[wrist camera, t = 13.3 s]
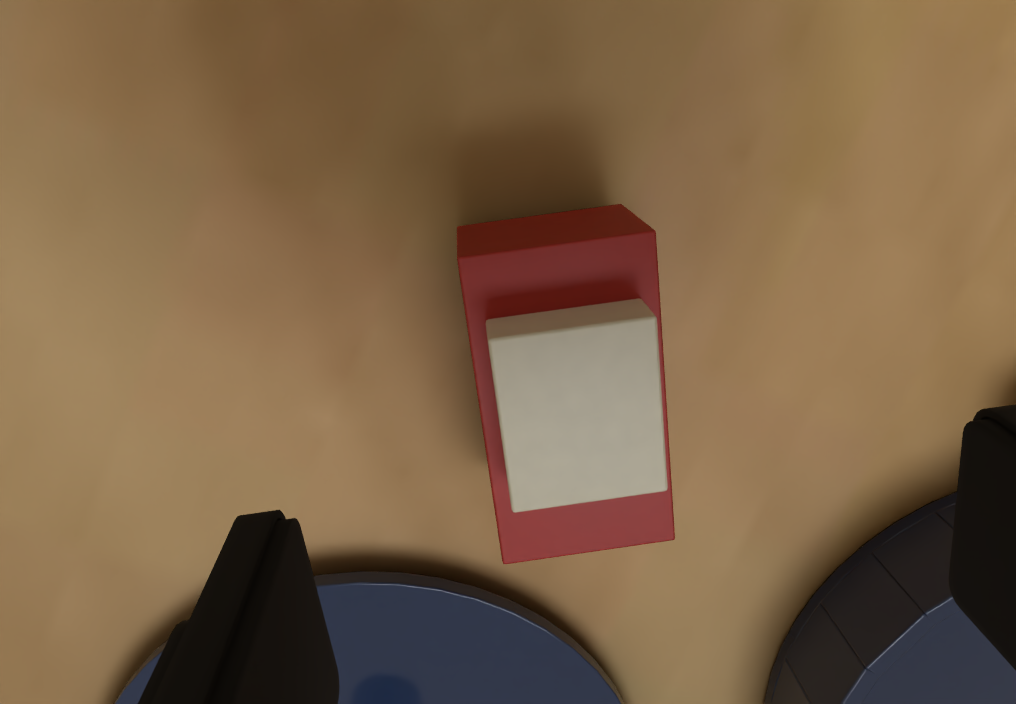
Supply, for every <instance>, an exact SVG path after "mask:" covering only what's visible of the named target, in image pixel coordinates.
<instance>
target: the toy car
mask: <svg viewBox="0 0 1016 704" xmlns="http://www.w3.org/2000/svg"><path fill="white" fill-rule="evenodd" d="M457 261H458V268H459V275H460V281H461V288H462V295H463V301H464V308H465V315H466V321H467V328H468V335H469V341H470V348H471V355H472V361H473V368H474V375H475V381H476V388H477V395H478V401H479V408H480V415H481V421H482V428H483V435H484V441H485V448H486V455H487V461H488V468H489V475H490V481H491V488H492V495H493V501H494V508H495V515H496V521H497V528H498V535H499V541H500V548H501V555H502V561H503V564H510V563H517V562H524V561H531V560H538V559H545V558H551V557H558V556H565V555H572V554H579V553H586V552H593V551H600V550H607V549H614V548H621V547H628V546H635V545H642V544H649V543H655V542H662V541H669V540H674V539H675V533H674V517H673V501H672V485H671V469H670V453H669V437H668V421H667V405H666V389H665V373H664V357H663V341H662V324H661V308H660V292H659V276H658V260H657V244H656V232H655V230H654V229H652V228H651V227H650V226H649V225H647V224H646V223H645V222H643V221H642V220H641V219H640V218H638V217H637V216H636V215H635V214H633V213H632V212H631V211H630V210H628V209H627V208H626V207H624V206H623V205H622V204H617V205H610V206H602V207H595V208H588V209H580V210H573V211H566V212H559V213H551V214H544V215H537V216H529V217H522V218H515V219H507V220H500V221H493V222H485V223H478V224H471V225H463V226H458V227H457Z"/></svg>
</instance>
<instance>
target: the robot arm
mask: <svg viewBox="0 0 1016 704" xmlns="http://www.w3.org/2000/svg"><path fill="white" fill-rule="evenodd" d="M949 587H950V591H951V594H952V597H953V599H954V601H955V603H956V604H957V605H958V607H959V608H960V609H961V610H962V611H963V612H964V614H965V615H966V616H967V617H968V618H969V619H970V620H971V621H972V622H973V624H974V625H975V626H976V627H977V628H978V629H979V630H980V631H981V633H982V634H983V635H984V636H985V637H986V638H987V639H988V640H989V641H990V643H991V644H992V645H993V646H994V647H995V648H996V649H997V650H998V651H999V653H1000V654H1001V655H1002V656H1003V657H1004V658H1005V659H1006V660H1007V662H1008V663H1009V664H1010V665H1011V666H1012V667H1013V668H1014V669H1015V670H1016V405H1009V406H1002V407H995V408H988V409H982V410H980V411H979V412H977V414H976V415H975V417H974V419H973V421H970V422H969V423H967V424H966V426H965V427H964V431H963V437H962V447H961V457H960V468H959V478H958V488H957V498H956V508H955V518H954V528H953V538H952V548H951V558H950V568H949ZM339 687H340V686H339V673H338V668H337V664H336V660H335V656H334V652H333V649H332V645H331V641H330V637H329V633H328V630H327V626H326V622H325V618H324V614H323V611H322V607H321V603H320V599H319V595H318V591H317V588H316V584H315V580H314V576H313V572H312V569H311V565H310V561H309V557H308V553H307V550H306V546H305V542H304V538H303V534H302V531H301V527H300V524H299V522H298V520H297V519H296V518H293V519H285V516H284V514H283V513H282V512H281V511H280V510H275V511H268V512H261V513H254V514H247V515H240V516H237V518H236V519H235V521H234V523H233V525H232V528H231V530H230V532H229V534H228V536H227V538H226V541H225V543H224V545H223V547H222V549H221V552H220V554H219V556H218V558H217V560H216V563H215V565H214V567H213V569H212V571H211V574H210V576H209V578H208V580H207V582H206V584H205V587H204V589H203V591H202V593H201V595H200V598H199V600H198V602H197V604H196V606H195V609H194V611H193V613H192V615H191V617H190V620H185V621H182V622H180V623H179V624H177V625H176V627H175V628H174V630H173V631H172V633H171V635H170V637H169V639H168V641H167V643H166V645H165V647H164V649H163V652H162V654H161V656H160V658H159V660H158V662H157V664H156V666H155V668H154V670H153V673H152V675H151V677H150V679H149V681H148V683H147V685H146V687H145V689H144V691H143V694H142V696H141V698H140V700H139V702H138V704H338V700H339Z"/></svg>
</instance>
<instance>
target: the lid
mask: <svg viewBox="0 0 1016 704" xmlns="http://www.w3.org/2000/svg"><path fill="white" fill-rule="evenodd" d="M314 580H315V584H316V588H317V591H318V595H319V599H320V603H321V607H322V611H323V614H324V618H325V622H326V626H327V630H328V633H329V637H330V641H331V645H332V649H333V652H334V656H335V660H336V664H337V668H338V673H339V686H340V687H339V700H338V704H625V703H624V701H623V699H622V698H621V696H620V694H619V692H618V690H617V689H616V687H615V685H614V683H613V682H612V681H611V679H610V678H609V677H608V676H607V674H606V673H605V672H604V671H603V669H602V668H601V667H600V666H599V664H598V663H597V662H596V660H595V659H594V658H593V657H592V656H591V655H590V654H588V653H587V652H586V651H585V650H584V649H583V648H582V647H581V646H580V645H579V644H578V643H577V642H576V641H575V640H574V639H573V638H572V637H570V636H569V635H568V634H566V633H565V632H563V631H562V630H561V629H559V628H558V627H556V626H555V625H554V624H552V623H551V622H549V621H548V620H547V619H545V618H544V617H542V616H540V615H538V614H537V613H535V612H533V611H531V610H529V609H527V608H525V607H523V606H521V605H520V604H518V603H516V602H514V601H512V600H510V599H507V598H504V597H502V596H499V595H497V594H494V593H491V592H489V591H486V590H483V589H481V588H478V587H475V586H471V585H467V584H463V583H459V582H455V581H451V580H447V579H443V578H439V577H432V576H425V575H417V574H410V573H402V572H370V571H358V572H346V573H335V574H324V575H317V576H314ZM167 641H168V640H167ZM167 641H166V642H164V643H163V644H162V645H161V646H160V647H158V648H157V649H156V650H155V651H154V652H153V653H152V654H151V655H150V656H149V657H148V658H147V659H146V660H145V661H144V663H143V664H142V665H141V666H140V667H139V668H138V669H137V670H136V672H135V673H134V674H133V675H132V676H131V677H130V679H129V680H128V682H127V683H126V685H125V686H124V688H123V690H122V691H121V693H120V694H119V696H118V697H117V699H116V701H115V702H114V704H138V702H139V700H140V698H141V696H142V694H143V691H144V689H145V687H146V685H147V683H148V681H149V679H150V677H151V675H152V673H153V670H154V668H155V666H156V664H157V662H158V660H159V658H160V656H161V654H162V652H163V649H164V647H165V645H166V643H167Z"/></svg>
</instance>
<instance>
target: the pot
mask: <svg viewBox="0 0 1016 704" xmlns="http://www.w3.org/2000/svg"><path fill="white" fill-rule="evenodd" d="M956 498H957V492H955V493H952V494H950V495H948V496H946V497H943V498H941V499H939V500H936V501H934V502H932V503H930V504H927V505H925V506H924V507H922V508H920V509H918V510H916V511H915V512H913V513H911V514H909V515H908V516H906V517H904V518H902V519H901V520H899V521H897V522H895V523H894V524H892V525H891V526H889V527H888V528H887V529H885V530H884V531H882V532H881V533H880V534H878V535H877V536H875V537H874V538H873V539H871V540H870V541H868V542H867V543H866V544H864V545H863V546H862V547H861V548H860V549H859V550H857V551H856V552H855V553H854V554H853V555H852V556H851V557H849V558H848V559H847V560H846V561H845V562H844V563H843V564H842V565H840V566H839V567H838V568H837V569H836V570H835V571H834V573H833V574H832V575H831V576H830V577H829V578H828V579H827V580H826V581H825V582H824V584H823V585H822V586H821V587H820V588H819V589H818V590H817V591H816V592H815V594H814V595H813V596H812V598H811V599H810V601H809V602H808V603H807V605H806V606H805V607H804V609H803V610H802V612H801V613H800V614H799V616H798V617H797V619H796V620H795V622H794V624H793V626H792V628H791V629H790V631H789V633H788V635H787V637H786V639H785V640H784V642H783V644H782V646H781V648H780V651H779V653H778V656H777V659H776V661H775V664H774V667H773V669H772V672H771V675H770V679H769V684H768V688H767V693H766V697H765V704H1016V670H1015V669H1014V668H1013V667H1012V666H1011V665H1010V664H1009V663H1008V662H1007V660H1006V659H1005V658H1004V657H1003V656H1002V655H1001V654H1000V653H999V651H998V650H997V649H996V648H995V647H994V646H993V645H992V644H991V643H990V641H989V640H988V639H987V638H986V637H985V636H984V635H983V634H982V633H981V631H980V630H979V629H978V628H977V627H976V626H975V625H974V624H973V622H972V621H971V620H970V619H969V618H968V617H967V616H966V615H965V614H964V612H963V611H962V610H961V609H960V608H959V607H958V605H957V604H956V603H955V601H954V599H953V597H952V594H951V591H950V587H949V568H950V558H951V548H952V538H953V528H954V518H955V508H956Z"/></svg>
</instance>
